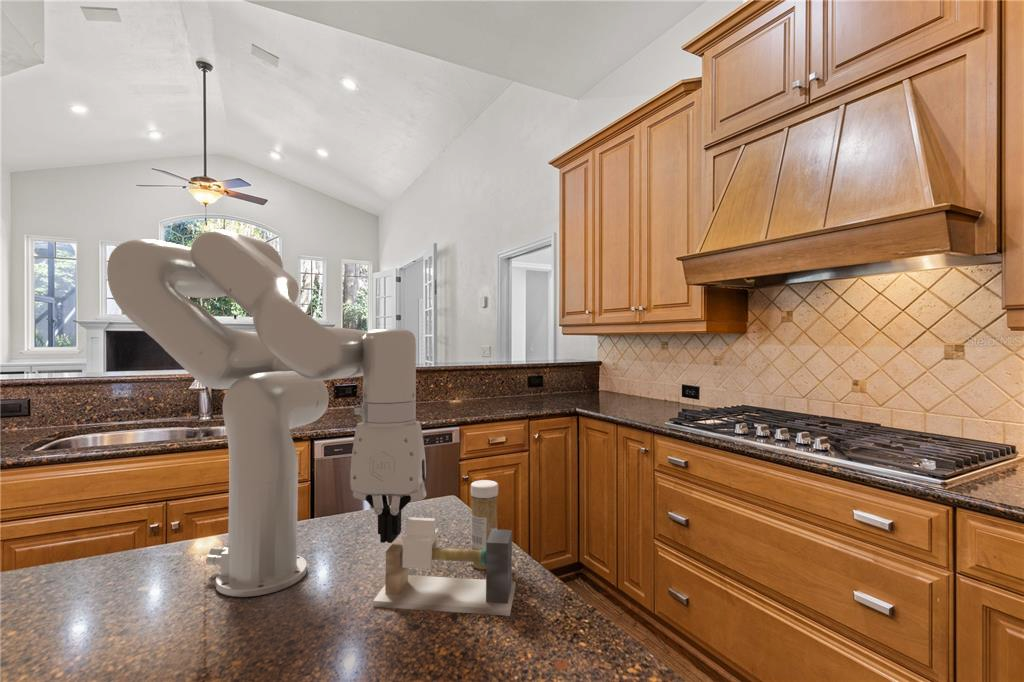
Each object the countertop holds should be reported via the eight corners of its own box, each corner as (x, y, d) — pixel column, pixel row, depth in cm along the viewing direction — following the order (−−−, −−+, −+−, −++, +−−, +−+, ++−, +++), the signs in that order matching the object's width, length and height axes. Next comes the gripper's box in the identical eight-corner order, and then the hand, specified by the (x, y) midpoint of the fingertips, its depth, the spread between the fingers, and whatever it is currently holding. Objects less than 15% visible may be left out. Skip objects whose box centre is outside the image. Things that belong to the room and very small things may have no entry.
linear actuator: (372, 606, 68) (373, 541, 68) (393, 579, 76) (393, 520, 76) (509, 615, 66) (510, 548, 66) (515, 586, 74) (516, 526, 74)
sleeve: (402, 567, 69) (403, 523, 69) (411, 555, 73) (412, 513, 73) (430, 569, 69) (430, 524, 69) (437, 556, 73) (438, 514, 73)
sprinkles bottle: (502, 566, 81) (503, 484, 81) (478, 573, 78) (479, 488, 78) (488, 556, 84) (489, 477, 85) (465, 562, 82) (465, 481, 82)
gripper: (328, 416, 69) (328, 547, 69) (432, 417, 67) (432, 552, 67) (351, 409, 76) (351, 528, 76) (445, 410, 75) (445, 531, 75)
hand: (389, 539), depth 72 cm, fingers closed
